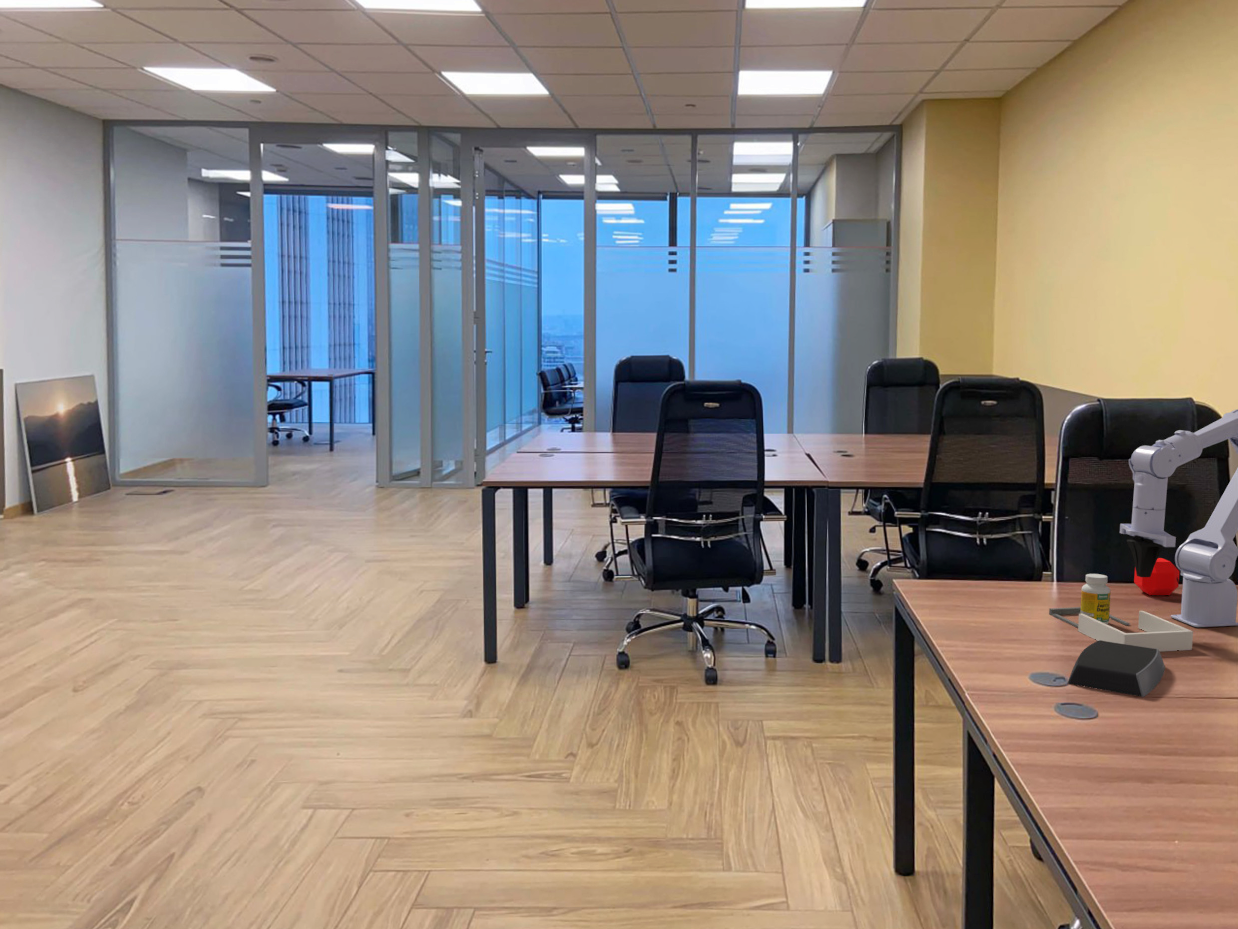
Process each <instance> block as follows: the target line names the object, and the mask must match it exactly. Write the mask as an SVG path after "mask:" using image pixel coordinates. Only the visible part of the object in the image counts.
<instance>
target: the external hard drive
mask: <svg viewBox="0 0 1238 929" xmlns="http://www.w3.org/2000/svg"><path fill="white" fill-rule="evenodd" d="M1165 669H1166V666H1165V663H1164V659H1163V656H1162V655H1161V651H1160V652H1159V650H1158V649H1153V648H1146V647H1139V646H1133V645H1126V644H1120V643H1113V642H1107V641H1102V640H1099V641H1097V640H1096V641H1095V642H1093V643H1091V644H1089V645H1088V646H1087V647H1085V648H1084V649H1083V651H1081V652H1080V654H1079V656H1078V657H1077V659H1076V661H1075V663H1074V666H1073V668H1072V671H1071V673H1070V675H1069V678H1068V680H1067V684H1068V683H1069V684H1068V685H1072V684H1074V685H1073V686H1077V685H1079V686H1078V687H1083V686H1085V687H1084V688H1089V687H1091V689H1094V688H1097V689H1096V690H1100V689H1102V691H1107V692H1113V693H1117V694H1124V695H1127V696H1128V695H1129V696H1134V697H1140V698H1145V697H1146V696H1147V695H1149V694H1150V693H1151V692H1152V691H1153V690H1154V689H1155V688H1156V687H1157V686H1158V684H1159V683H1161V680H1162V678H1163V676H1164V673H1165Z"/></svg>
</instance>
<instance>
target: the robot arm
mask: <svg viewBox="0 0 1238 929" xmlns="http://www.w3.org/2000/svg"><path fill="white" fill-rule="evenodd" d="M1227 440H1229V442H1230V444H1231V446H1232V448H1233V449H1234V451H1235V453H1236V454H1237V455H1238V409H1233V410H1232V411H1230V412H1225V413H1224V414H1223V415H1222V417H1221V418H1219V419H1217V420H1216V421H1214V422H1212V423H1210V424H1208V425H1206V426H1204V427H1203V428H1200V429H1199V430H1197V431H1194V432H1193V431H1192V432H1191V431H1190V430H1181V429H1179V430H1176V431H1175V432H1174V435H1172V436H1169V437H1167V438H1166V439H1158V440H1156V441H1155V443H1154V444H1152V445H1141V446H1139V447H1137V448H1136V449H1134V451H1133V453H1132V454H1131V457H1130V458H1129V459H1128V465H1129V468H1130V469H1129V470H1130V471H1131V472H1132V480H1133V483H1134V488H1133V498H1132V499H1133V501H1132V512H1131V523H1120V524H1119V534H1121V535H1122V534H1123V535H1129V536H1131V537H1133V538H1132V539H1126V544H1127V546H1128V548H1129V550H1130V552H1131V554H1132V557H1133V562H1134V563H1133V564H1134V569H1135V568H1136V573H1137V576H1139V577H1150V576H1151V574H1152V571H1153V568H1154V566H1155V563H1156V561H1157V559H1158V558H1160V556H1161V554H1162V553H1163V551H1164V549H1166V548H1176V540H1177V539H1176V538H1177V536H1174V535H1171V534H1169V533H1168V532H1166V531H1165V530H1164V529H1165V517H1166V505H1167V504H1166V503H1167V492H1168V491H1167V490H1168V481H1169V480H1168V478H1169V477H1171V476H1172V475H1173V474H1174V472H1175V471H1176V469H1177V468H1178V467H1180V466H1182V465H1184V464H1187V463H1189V462H1192V461H1194V460H1195V459H1197V458H1199V457H1200V456H1201V455H1202V453H1203V450H1204V449H1206V448H1208V447H1211V446H1213V445H1216V444H1219V443H1221V442H1224V441H1227ZM1210 515H1211V516H1210V517H1209V519H1208V521H1207V522H1206V524H1205V525H1204V527H1203V528H1201V529H1198V530H1196V531H1194V532H1192V533H1190V534H1189V535H1188V537H1187V539H1186V540H1185V541H1184V542H1183V543H1182V544H1180V545H1179V547H1178V548H1177V549H1176V552H1175V555H1174V562H1175V567H1176V568H1177V569H1178V570H1179V571H1180V576H1182V591H1181V606H1180V614H1171V615H1170V618H1171V619H1175V620H1177V621H1179V622H1182V623H1184V624H1186V625H1190V626H1192V627H1195V628H1209V627H1211V628H1212V627H1227V626H1228V627H1229V626H1231V627H1232V626H1238V622H1237V621H1236V619H1237V609H1238V589H1237V586H1236V584H1235V582H1234V581H1233V580H1231V579H1230V577H1231V576H1232V574H1233V573H1234V571H1235V567H1236V560H1237V558H1238V546H1237V545H1236V544H1235V541H1234V538H1235V537H1236V535H1237V533H1238V467H1237V468H1236V470H1235V471H1234V474H1233V475H1232V478H1230V481H1229V483H1228V485H1227V486H1226V488H1225V490H1224V492H1223V494H1222V495H1221V497H1220V499H1219V501H1218V502H1217V504H1216V506H1215V508H1214V510H1213V512H1212V513H1211V514H1210Z"/></svg>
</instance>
